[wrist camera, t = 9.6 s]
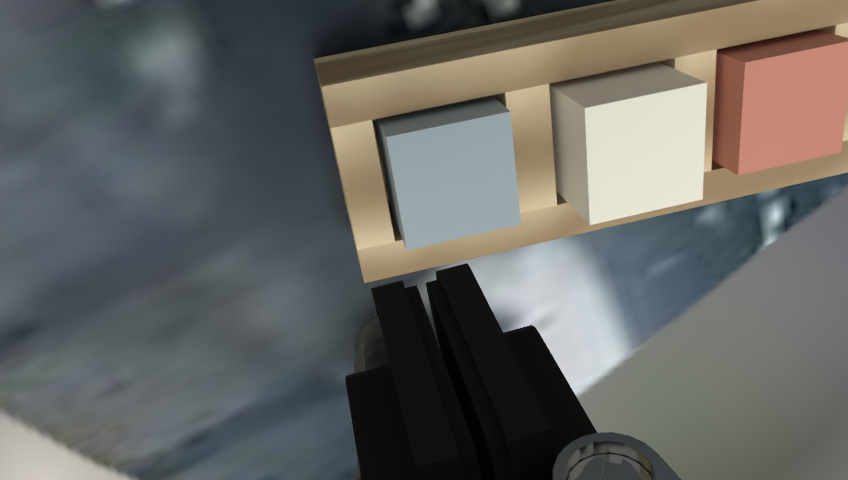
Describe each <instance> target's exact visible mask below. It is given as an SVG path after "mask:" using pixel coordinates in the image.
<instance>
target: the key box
mask: <svg viewBox="0 0 848 480" xmlns="http://www.w3.org/2000/svg"><path fill="white" fill-rule="evenodd" d="M809 30H818V31H822V32H826V33H830V34H834V35H839V36H843V37H847V38H848V0H615V1H610V2H604V3H599V4H594V5H589V6H584V7H578V8H573V9H568V10H563V11H558V12H553V13H547V14H542V15H537V16H532V17H527V18H522V19H516V20H511V21H506V22H501V23H496V24H491V25H485V26H480V27H475V28H470V29H465V30H460V31H454V32H449V33H444V34H439V35H434V36H429V37H423V38H418V39H413V40H408V41H403V42H398V43H392V44H387V45H382V46H377V47H372V48H367V49H361V50H356V51H351V52H346V53H341V54H335V55H330V56H325V57H320V58H315V59H314V62H315V67H316V71H317V76H318V80H319V85H320V89H321V94H322V99H323V103H324V108H325V112H326V117H327V121H328V126H329V130H330V135H331V139H332V144H333V148H334V153H335V157H336V162H337V167H338V171H339V176H340V180H341V185H342V189H343V194H344V198H345V203H346V207H347V212H348V216H349V221H350V225H351V230H352V234H353V238H354V243H355V247H356V251H357V255H358V259H359V263H360V267H361V271H362V276H363V280H364V283H367V282H372V281H376V280H380V279H385V278H389V277H393V276H398V275H402V274H406V273H411V272H415V271H419V270H424V269H428V268H433V267H437V266H441V265H446V264H450V263H454V262H459V261H463V260H467V259H472V258H476V257H480V256H485V255H489V254H494V253H498V252H502V251H507V250H511V249H515V248H520V247H524V246H528V245H533V244H537V243H541V242H546V241H550V240H555V239H559V238H563V237H568V236H572V235H576V234H581V233H585V232H589V231H594V230H598V229H602V228H607V227H611V226H616V225H620V224H624V223H629V222H633V221H637V220H642V219H646V218H650V217H655V216H659V215H663V214H668V213H672V212H677V211H681V210H685V209H690V208H694V207H698V206H703V205H707V204H711V203H716V202H720V201H724V200H729V199H733V198H738V197H742V196H746V195H751V194H755V193H759V192H764V191H768V190H772V189H777V188H781V187H785V186H790V185H794V184H799V183H803V182H807V181H812V180H816V179H820V178H825V177H829V176H833V175H838V174H842V173H846V172H848V104H847V111H846V119H845V126H844V134H843V141H842V149H841V152H839V153H835V154H831V155H826V156H822V157H817V158H813V159H808V160H804V161H800V162H795V163H791V164H786V165H782V166H777V167H773V168H769V169H764V170H760V171H755V172H751V173H747V174H742V175H737V174H735V173H733V172H731V171H730V170H728V169H726V168H725V167H723V166H721V165H720V164H718V163H716V162H714V161H713V160H712V144H713V121H714V98H715V75H716V53H717V49H721V48H726V47H731V46H736V45H740V44H745V43H750V42H755V41H760V40H765V39H770V38H775V37H780V36H784V35H789V34H794V33H799V32H804V31H809ZM652 62H659V63H662V64H664V65H666V66H669V67H671V68H674V69H676V70H678V71H681V72H683V73H686V74H688V75H690V76H693V77H695V78H698V79H700V80H702V81H705V82H707V100H706V126H705V152H704V178H703V199H702V200H698V201H694V202H689V203H685V204H681V205H676V206H672V207H667V208H663V209H659V210H654V211H650V212H646V213H641V214H637V215H632V216H628V217H624V218H619V219H615V220H611V221H606V222H602V223H597V224H593V225H589V224H588V223H587V222H586V221H585V220H584V219H583V218H582V217H581V216H580V215H579V214H578V213H577V212H576V211H575V210H574V208H573V207H572V206H571V205H570V204H569V203H568V202H567V201H566V200H565V199H564V198H563V197H562V196H561V195H560V194H559V193H558V192H557V191H556V181H555V166H554V151H553V136H552V121H551V106H550V91H549V84H550V83H555V82H560V81H564V80H569V79H574V78H579V77H584V76H589V75H594V74H599V73H604V72H608V71H613V70H618V69H623V68H628V67H633V66H638V65H643V64H648V63H652ZM491 95H492V96H493V97H495V98H496V99H497V100H498V101H499V102H500V103H501V104H503V105H504V106H505V107H506V108H507V109H508V110H509V111H510V113H511V123H512V134H513V144H514V155H515V165H516V176H517V186H518V197H519V208H520V218H521V224H520V225H516V226H512V227H507V228H503V229H498V230H494V231H489V232H485V233H481V234H476V235H472V236H467V237H463V238H459V239H454V240H450V241H445V242H441V243H436V244H432V245H428V246H423V247H419V248H414V249H410V250H406V247H405V244H404V242H403V239H402V237H401V234H400V231H399V229H398V226H397V224H396V221H395V218H394V216H393V213H392V209H391V204H390V198H389V193H388V188H387V182H386V177H385V172H384V166H383V161H382V156H381V150H380V145H379V140H378V134H377V129H376V124H375V119H379V118H384V117H389V116H393V115H398V114H403V113H408V112H413V111H418V110H423V109H428V108H433V107H437V106H442V105H447V104H452V103H457V102H462V101H467V100H472V99H476V98H481V97H486V96H491Z"/></svg>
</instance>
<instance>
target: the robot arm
mask: <svg viewBox="0 0 848 480" xmlns="http://www.w3.org/2000/svg"><path fill="white" fill-rule="evenodd" d="M436 278H437V280H435V281H431V282H427V283H426V287H427V292H428V297H429V301H430V306H431V311H432V315H433V320H434V325H435V329H436V334H437V339H438V343H437V340H436V338H435V335H434V332H433V329H432V326H431V324H430V321H429V318H428V315H427V313H426V310H425V307H424V304H423V302H422V299H421V296H420V293H419V290H418V288H417V286H412V287H408V288H405V287H404V284H403V282H402V281H398V282H394V283H390V284H386V285H383V286H379V287H375V288H371V290H372V294H373V298H374V302H375V306H376V310H377V314H378V318H379V322H380V326H381V330H382V334H383V338H384V342H385V346H386V350H387V354H388V358H389V362H390V364H388V365H384V366H381V367H377V368H373V369H370V370H366V371H362V372H359V373H355V374H351V375H348V376H346V386H347V392H348V398H349V405H350V411H351V417H352V424H353V430H354V436H355V442H356V449H357V455H358V461H359V467H360V474H361V480H681V479H680V478H679V477H678V475H677V474H676V473H675V472H674V471H673V470H672V469H671V468H670V467H669V465H668V464H667V463H666V462H665V461H664V460H663V459H662V458H661V457H660V456H659V454H657V453H656V452H655V451H654V450H653V449H652V448H650V447H649V446H648V445H647V444H646V443H644V442H642V441H640V440H637V439H635V438H633V437H631V436H628V435H623V434H618V433H613V432H610V433H597V432H596V430H595V428H594V427H593V425H592V423H591V421H590V420H589V418H588V416H587V414H586V413H585V411H584V409H583V408H582V406H581V404H580V402H579V401H578V399H577V397H576V396H575V394H574V392H573V390H572V389H571V387H570V385H569V384H568V382H567V380H566V378H565V377H564V375H563V373H562V372H561V370H560V368H559V366H558V365H557V363H556V361H555V360H554V358H553V356H552V354H551V353H550V351H549V349H548V348H547V346H546V344H545V342H544V341H543V339H542V337H541V336H540V334H539V332H538V331H537V329H536V328H535V327H534V326H532V325H530V326H527V327H523V328H519V329H516V330H512V331H508V332H505V333H503V332H502V330H501V328H500V326H499V324H498V322H497V320H496V318H495V316H494V314H493V312H492V310H491V308H490V306H489V304H488V302H487V300H486V298H485V296H484V294H483V292H482V290H481V288H480V286H479V284H478V283H477V281H476V279H475V277H474V275H473V273H472V271H471V269H470V267H469V265H468V264H467V263H466V264H462V265H458V266H455V267H451V268H447V269H443V270H439V271H436ZM438 344H439V346H438ZM439 348H440V349H439Z"/></svg>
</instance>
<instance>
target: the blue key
mask: <svg viewBox="0 0 848 480" xmlns="http://www.w3.org/2000/svg"><path fill="white" fill-rule="evenodd" d="M375 124H376V129H377V134H378V140H379V145H380V150H381V156H382V161H383V166H384V172H385V177H386V182H387V188H388V193H389V198H390V204H391V209H392V213H393V216H394V218H395V221H396V224H397V226H398V229H399V231H400V234H401V237H402V239H403V242H404V244H405V247H406V250H410V249H414V248H419V247H423V246H428V245H432V244H436V243H441V242H445V241H450V240H454V239H459V238H463V237H467V236H472V235H476V234H481V233H485V232H489V231H494V230H498V229H503V228H507V227H512V226H516V225H520V224H521V218H520V208H519V197H518V186H517V176H516V165H515V155H514V144H513V134H512V123H511V113H510V111H509V110H508V109H507V108H506V107H505V106H504V105H503V104H501V103H500V102H499V101H498V100H497V99H496V98H495V97H493V96H492V95H491V96H486V97H481V98H476V99H472V100H467V101H462V102H457V103H452V104H447V105H442V106H437V107H433V108H428V109H423V110H418V111H413V112H408V113H403V114H398V115H393V116H389V117H384V118H379V119H375Z"/></svg>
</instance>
